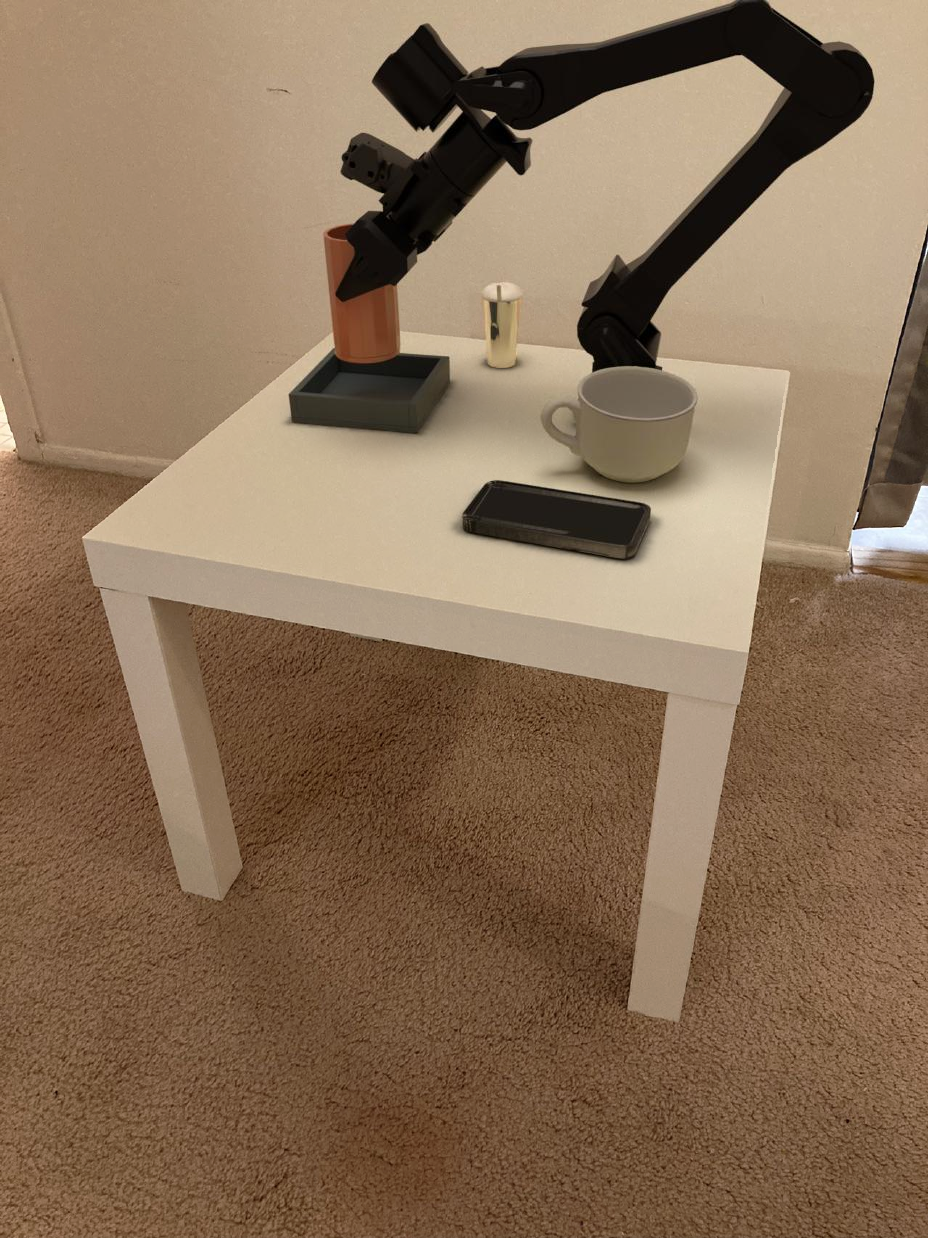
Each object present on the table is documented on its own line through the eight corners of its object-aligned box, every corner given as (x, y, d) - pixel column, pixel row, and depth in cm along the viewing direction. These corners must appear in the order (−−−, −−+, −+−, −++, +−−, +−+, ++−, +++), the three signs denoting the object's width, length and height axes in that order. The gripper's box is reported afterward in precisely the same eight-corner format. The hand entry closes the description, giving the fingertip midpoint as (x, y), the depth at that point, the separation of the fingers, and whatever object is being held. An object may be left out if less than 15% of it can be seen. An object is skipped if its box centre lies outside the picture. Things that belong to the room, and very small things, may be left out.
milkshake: (478, 372, 113) (477, 283, 108) (485, 355, 118) (484, 269, 112) (517, 373, 113) (519, 285, 107) (523, 357, 117) (524, 270, 111)
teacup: (681, 444, 97) (691, 365, 92) (694, 497, 88) (705, 413, 84) (539, 441, 98) (542, 364, 93) (538, 494, 89) (540, 411, 85)
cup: (404, 360, 101) (396, 238, 94) (337, 366, 100) (325, 243, 93) (396, 337, 106) (389, 220, 99) (333, 342, 105) (321, 225, 98)
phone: (489, 478, 89) (653, 504, 85) (489, 489, 90) (652, 515, 85) (457, 519, 83) (633, 549, 79) (458, 530, 84) (632, 561, 79)
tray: (450, 382, 111) (449, 356, 109) (417, 433, 100) (415, 404, 98) (335, 373, 114) (333, 347, 112) (291, 422, 103) (288, 394, 101)
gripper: (416, 86, 96) (321, 203, 105) (358, 119, 81) (253, 251, 90) (496, 175, 99) (397, 282, 108) (454, 222, 84) (343, 341, 93)
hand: (350, 286), depth 99 cm, fingers closed on cup, 7 cm apart
